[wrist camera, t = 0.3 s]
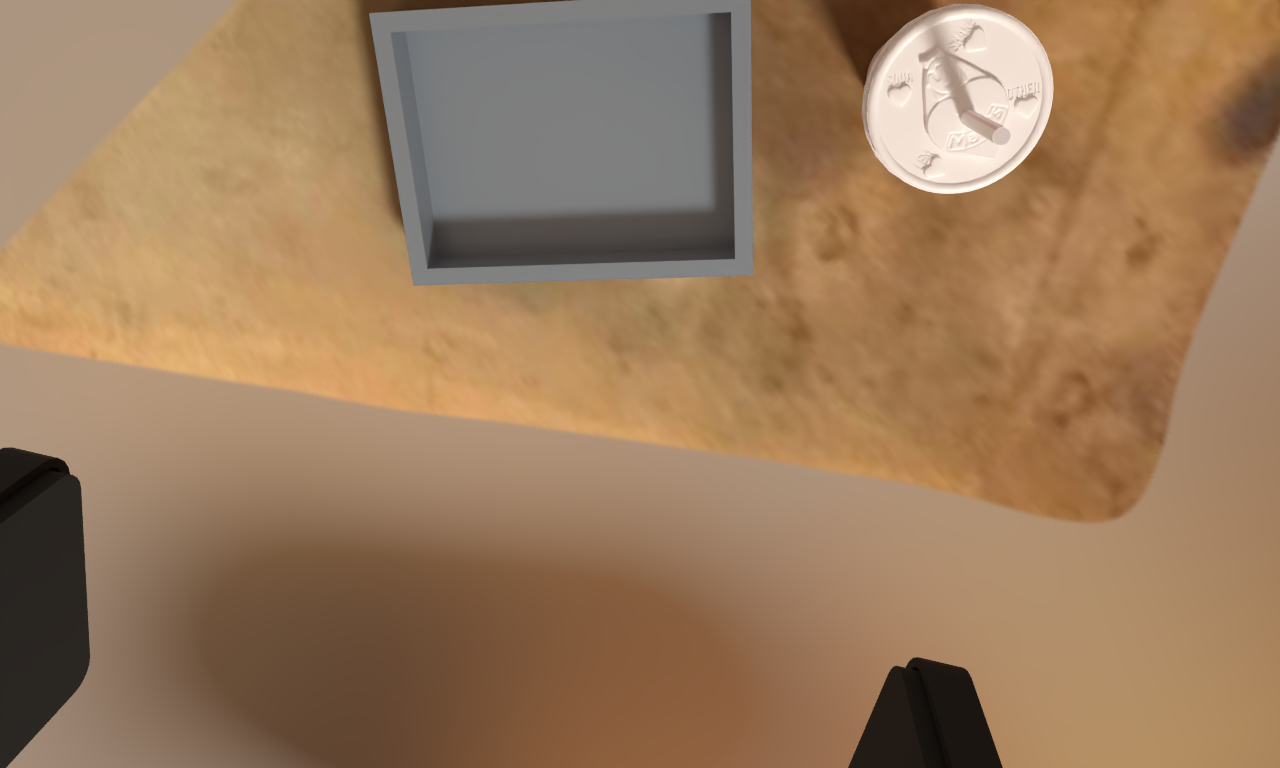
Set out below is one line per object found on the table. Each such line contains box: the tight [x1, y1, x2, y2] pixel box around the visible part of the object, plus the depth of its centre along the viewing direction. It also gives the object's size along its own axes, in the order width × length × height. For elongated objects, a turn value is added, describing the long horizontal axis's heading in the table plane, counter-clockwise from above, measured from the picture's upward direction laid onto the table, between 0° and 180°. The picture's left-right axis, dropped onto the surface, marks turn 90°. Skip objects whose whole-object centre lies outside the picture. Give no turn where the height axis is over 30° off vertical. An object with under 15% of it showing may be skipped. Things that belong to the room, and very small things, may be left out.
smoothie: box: [862, 4, 1053, 194], centre depth 34 cm, size 6×6×14 cm
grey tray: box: [369, 0, 753, 286], centre depth 41 cm, size 12×16×3 cm
